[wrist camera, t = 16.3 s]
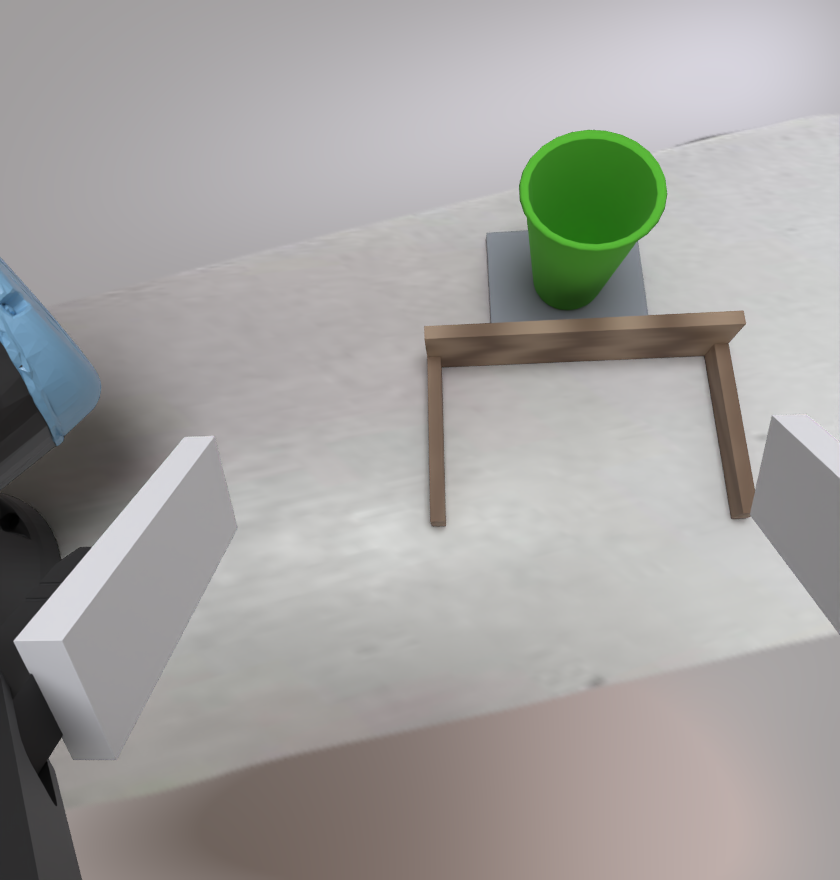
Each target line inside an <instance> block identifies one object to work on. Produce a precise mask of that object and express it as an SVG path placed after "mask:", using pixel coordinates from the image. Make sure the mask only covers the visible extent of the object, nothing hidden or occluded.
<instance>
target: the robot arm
mask: <svg viewBox="0 0 840 880" xmlns="http://www.w3.org/2000/svg"><path fill="white" fill-rule="evenodd" d="M100 393H101V382H100V378H99V376H98V374H97V372H96V370H95V369H94V367H93V366H92V364H91V363H90V362H89V360H88V359H87V358H86V356H85V355H84V354H83V352H82V351H81V350H80V349H79V347H78V346H77V345H76V344H75V342H74V341H73V340H72V339H71V338H70V336H69V335H68V334H67V333H66V331H65V330H64V329H63V328H62V327H61V326H60V324H59V323H58V322H57V321H56V320H55V318H54V317H53V316H52V315H51V314H50V313H49V311H48V310H47V309H46V308H45V307H44V306H43V304H42V303H41V302H40V301H39V300H38V299H37V298H36V296H35V295H34V294H33V293H32V292H31V291H30V290H29V289H28V287H27V286H26V285H25V284H24V283H23V282H22V281H21V279H20V278H19V277H18V276H17V275H16V274H15V273H14V272H13V270H12V269H11V268H10V267H9V266H8V265H7V264H6V263H5V262H4V261H3V259H2V258H1V257H0V490H1V489H2V488H4V487H5V486H6V485H7V484H9V483H10V482H11V481H12V480H14V479H15V478H16V477H17V476H19V475H20V474H21V473H22V472H24V471H25V470H26V469H27V468H29V467H30V466H31V465H32V464H34V463H35V462H36V461H37V460H39V459H40V458H41V457H42V456H43V455H45V454H46V453H47V452H48V451H50V450H51V449H52V448H53V447H55V446H58V445H60V444H61V443H62V442H63V440H64V436H65V435H66V434H67V433H68V432H69V431H70V430H71V429H72V428H73V427H75V426H76V425H77V424H78V423H79V422H80V421H81V420H82V419H83V418H84V417H85V416H86V415H87V414H88V413H89V412H91V411H92V410H93V409H94V407H95V406H96V404H97V402H98V400H99V398H100ZM750 516H751V517H752V518H753V520H754V521H755V522H756V524H757V525H758V526H759V528H760V529H761V530H762V532H763V533H764V534H765V536H766V537H767V538H768V540H769V541H770V542H771V544H772V545H773V546H774V548H775V549H776V550H777V552H778V553H779V554H780V556H781V557H782V558H783V560H784V561H785V562H786V564H787V565H788V566H789V568H790V569H791V570H792V572H793V573H794V574H795V576H796V577H797V578H798V580H799V581H800V582H801V584H802V585H803V586H804V588H805V589H806V590H807V592H808V593H809V594H810V596H811V597H812V598H813V600H814V601H815V602H816V604H817V605H818V606H819V608H820V609H821V610H822V612H823V613H824V614H825V616H826V617H827V618H828V620H829V621H830V622H831V624H832V625H833V626H834V628H835V629H836V630H837V632H838V633H839V634H840V441H839V440H837V439H836V438H835V437H834V436H833V435H831V434H830V433H829V432H828V431H827V430H825V429H824V428H823V427H822V426H821V425H819V424H818V423H817V422H816V421H815V420H813V419H812V418H811V417H810V416H809V415H807V414H790V415H772V417H771V422H770V426H769V431H768V435H767V440H766V444H765V449H764V453H763V458H762V462H761V467H760V471H759V476H758V480H757V485H756V489H755V494H754V498H753V503H752V507H751V512H750ZM236 530H237V524H236V520H235V515H234V511H233V507H232V503H231V499H230V495H229V491H228V487H227V483H226V479H225V475H224V471H223V467H222V463H221V459H220V455H219V451H218V447H217V443H216V439H215V436H199V437H184V438H183V439H182V441H181V442H180V443H179V444H178V445H177V447H176V448H175V449H174V450H173V451H172V453H171V454H170V455H169V456H168V457H167V458H166V460H165V461H164V462H163V463H162V464H161V466H160V467H159V468H158V469H157V470H156V472H155V473H154V474H153V475H152V476H151V478H150V479H149V480H148V481H147V482H146V484H145V485H144V486H143V487H142V488H141V489H140V491H139V492H138V493H137V494H136V495H135V497H134V498H133V499H132V500H131V501H130V503H129V504H128V505H127V506H126V507H125V509H124V510H123V511H122V512H121V513H120V515H119V516H118V517H117V518H116V519H115V520H114V522H113V523H112V524H111V525H110V526H109V528H108V529H107V530H106V531H105V532H104V534H103V535H102V536H101V537H100V538H99V540H98V541H97V542H96V543H95V544H94V546H93V547H80V548H78V549H77V550H75V551H74V552H72V553H71V554H69V555H68V556H67V557H65V558H64V559H62V560H61V561H60V555H59V550H58V546H57V543H56V540H55V538H54V535H53V533H52V531H51V529H50V527H49V526H48V524H47V523H46V521H45V520H44V519H43V518H42V516H41V515H40V514H39V513H38V512H37V511H36V510H35V509H33V508H32V507H31V506H29V505H28V504H27V503H25V502H23V501H21V500H19V499H17V498H15V497H12V496H9V495H6V494H2V493H0V880H82V878H81V874H80V870H79V866H78V862H77V858H76V854H75V850H74V846H73V842H72V838H71V834H70V830H69V826H68V822H67V818H66V814H65V810H64V806H63V802H62V798H61V794H60V789H59V785H58V781H57V777H56V773H55V770H54V768H53V766H52V764H51V763H50V761H49V759H48V758H49V756H50V755H51V753H52V752H53V750H54V748H55V747H56V745H57V744H58V742H59V741H60V739H61V737H62V739H63V741H64V743H65V745H66V747H67V749H68V751H69V753H70V755H71V756H72V758H73V760H117V758H118V756H119V754H120V752H121V750H122V748H123V746H124V745H125V743H126V741H127V739H128V737H129V735H130V733H131V731H132V729H133V727H134V725H135V723H136V722H137V720H138V718H139V716H140V714H141V712H142V710H143V708H144V706H145V704H146V702H147V701H148V699H149V697H150V695H151V693H152V691H153V689H154V687H155V685H156V683H157V681H158V680H159V678H160V676H161V674H162V672H163V670H164V668H165V666H166V664H167V662H168V660H169V658H170V657H171V655H172V653H173V651H174V649H175V647H176V645H177V643H178V641H179V639H180V637H181V636H182V634H183V632H184V630H185V628H186V626H187V624H188V622H189V620H190V618H191V616H192V614H193V613H194V611H195V609H196V607H197V605H198V603H199V601H200V599H201V597H202V595H203V593H204V592H205V590H206V588H207V586H208V584H209V582H210V580H211V578H212V576H213V574H214V572H215V571H216V569H217V567H218V565H219V563H220V561H221V559H222V557H223V555H224V553H225V551H226V549H227V548H228V546H229V544H230V542H231V540H232V538H233V536H234V534H235V532H236Z"/></svg>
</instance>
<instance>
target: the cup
mask: <svg viewBox="0 0 840 880" xmlns="http://www.w3.org/2000/svg"><path fill="white" fill-rule="evenodd" d="M519 194H520V202H521V205H522V208H523V211H524V214H525V215H526V217H527V225H528V234H529V244H530V254H531V263H532V273H533V283H534V287H535V290H536V292H537V293H538V295H539V297H540V298H541V299H542V300H543V301H544V302H545V303H546V304H548V305H550V306H551V307H553V308H557V309H560V310H574V309H578V308H581V307H583V306H586V305H587V304H589V303H590V302H592V301H593V300H594V298H595V297H596V296H597V295H598V294H599V292H600V291H601V290H602V288H603V287H604V286H605V284H606V283H607V282H608V280H609V279H610V277H611V276H612V275H613V273H614V272H615V271H616V269H617V268H618V267H619V265H620V264H621V263H622V261H623V260H624V259H625V257H626V256H627V255H628V253H629V252H630V251H631V249H632V248H633V246H634V245H635V244H636V242H637V241H638V240H639V239H641V238H642V237H644V236H645V235H647V234H648V233H649V232H650V231H651V229H652V228H653V227H654V226H655V225H656V224H657V223H658V221H659V219H660V217H661V215H662V213H663V211H664V209H665V204H666V198H667V189H666V180H665V177H664V174H663V172H662V170H661V168H660V165H659V163H658V162H657V161H656V159H655V158H654V157H653V156H652V154H651V153H650V152H649V151H648V150H646V149H645V148H643V146H641V145H640V144H639V143H637V142H636V141H634V140H632V139H629V138H627V137H625V136H623V135H620V134H616V133H612V132H608V131H600V130H584V131H577V132H571V133H568V134H565V135H563V136H560V137H557V138H555V139H553V140H552V141H550V142H549V143H547V144H546V145H544V146H542V148H540V150H538V152H536V154H535V155H534V156H532V158H530V160H529V162H528V163H527V165H526V167H525V169H524V170H523V173H522V176H521V180H520V184H519Z"/></svg>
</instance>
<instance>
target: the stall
mask: <svg viewBox="0 0 840 880" xmlns="http://www.w3.org/2000/svg"><path fill="white" fill-rule="evenodd" d="M745 324H746V321H745V316H744V311H726V312H706V313H686V314H665V315H645V316H624V317H604V318H584V319H563V320H543V321H523V322H502V323H482V324H461V325H441V326H424V335H425V345H426V351H427V363H428V418H429V473H430V522H431V525H432V526H446V511H445V472H444V433H443V394H442V367H461V366H483V365H506V364H528V363H551V362H574V361H596V360H619V359H642V358H664V357H687V356H704V357H705V363H706V369H707V375H708V381H709V387H710V393H711V399H712V405H713V411H714V417H715V423H716V429H717V435H718V441H719V447H720V453H721V459H722V465H723V471H724V477H725V483H726V489H727V495H728V501H729V507H730V513H731V519H739V518H748V517H751V516H750V512H751V507H752V503H753V498H754V494H755V488H754V483H753V477H752V472H751V466H750V460H749V455H748V449H747V444H746V438H745V433H744V427H743V422H742V416H741V410H740V405H739V399H738V394H737V388H736V383H735V377H734V372H733V366H732V360H731V355H730V349H729V344H728V343H729V342H730V341H731V340H732V339H733V338H734V337H735V335H736V334H737V333H738V332H739V331H740V330H741V329H742V328H743V327H744V325H745Z"/></svg>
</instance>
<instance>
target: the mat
mask: <svg viewBox="0 0 840 880" xmlns="http://www.w3.org/2000/svg"><path fill="white" fill-rule="evenodd" d="M486 240H487V259H488V278H489V297H490V316H491V323H502V322H523V321H543V320H563V319H584V318H604V317H624V316H645V315H648V310H647V303H646V296H645V288H644V281H643V274H642V267H641V260H640V253H639V245H638V241H637V242H636V244H635V245H634V246H633V248H632V249H631V251H630V252H629V253H628V255H627V256H626V257H625V259H624V260H623V261H622V263H621V264H620V265H619V267H618V268H617V269H616V271H615V272H614V273H613V275H612V276H611V277H610V279H609V280H608V282H607V283H606V284H605V286H604V287H603V288H602V290H601V291H600V292H599V294H598V295H597V296H596V297H595V298H594V300H593V301H592V302H590V303H589V304H587V305H586V306H583V307H581V308H578V309H574V310H560V309H557V308H553V307H551V306H550V305H548V304H546V303H545V302H544V301H543V300H542V299H541V298H540V297H539V295H538V293H537V292H536V290H535V287H534V283H533V273H532V263H531V254H530V244H529V234H528V230H527V231H510V232H493V233H487V237H486Z"/></svg>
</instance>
